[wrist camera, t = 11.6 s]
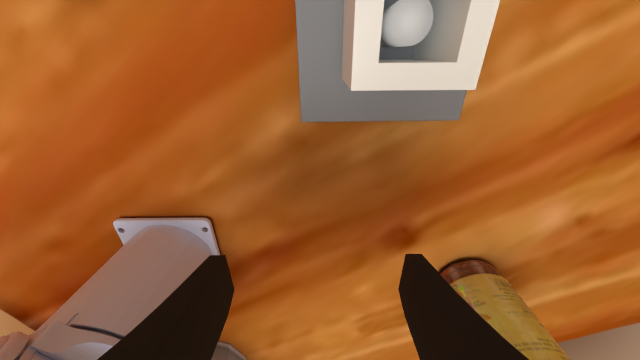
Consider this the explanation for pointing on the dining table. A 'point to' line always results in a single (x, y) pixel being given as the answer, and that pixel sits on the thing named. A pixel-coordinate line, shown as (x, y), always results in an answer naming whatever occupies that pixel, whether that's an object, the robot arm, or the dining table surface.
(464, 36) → the box
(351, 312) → the dining table surface
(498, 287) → the sauce bottle
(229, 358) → the can
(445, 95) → the base plate
